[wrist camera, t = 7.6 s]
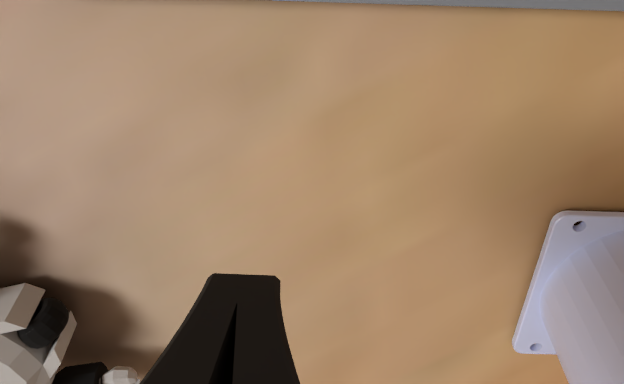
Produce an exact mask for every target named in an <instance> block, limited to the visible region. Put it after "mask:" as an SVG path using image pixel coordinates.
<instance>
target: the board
mask: <svg viewBox="0 0 624 384" xmlns="http://www.w3.org/2000/svg"><path fill="white" fill-rule="evenodd" d="M274 1H307V2H340V3H373V4H405V5H438V6H471V7H504V8H536V9H569V10H602V11H624V0H274Z"/></svg>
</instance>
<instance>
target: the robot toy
mask: <svg viewBox="0 0 624 384" xmlns="http://www.w3.org/2000/svg"><path fill="white" fill-rule="evenodd" d="M44 292H45V289H42V288H39V287H36V286H33V285H30V284H27V283H23V284H18V285H14V286H9V287H5V288H0V384H140V382H141V380H140V379H137V377H138V374H137V372H136V371H135V370H134V369H133V368H132V367H126V366H116V367H114V368H113V369H111V370H109V371H108V369H107V367H106V366H105V365H104V364H103V363H102V362H96V363H89V364H82V365H75V366H69V367H65V368H64V369H62V370H61V371H60V372H58V373H57V374H56V372H57V370H58V367H59V366H60V364H61V362H62V360H63V357H64V355H65V352H66V350H67V347H68V345H69V343H70V340H71V338H72V335H73V333H74V330H75V328H76V325H77V323H76V320H75V318H74V316H73V314H72V312H71V310H70V312H68V310H67V308H66V306H65V305H64V304H63V303H62V302H61V301H59V300H58V299H54V298H44V299H41V298H42V296H43V294H44Z"/></svg>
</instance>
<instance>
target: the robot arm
mask: <svg viewBox="0 0 624 384" xmlns="http://www.w3.org/2000/svg"><path fill="white" fill-rule="evenodd" d="M578 221H582V222H581V223H580V224H578V225H575V226H573V225H574V224H575V223H576V222H578ZM535 343H536V344H535ZM512 345H513V348H514V350H515V351H516V352H518V353H526V354H557V356H558V359H559V361H560V363H561V366H562V368H563V370H564V373H565V375H566V378H567V380H568V382H569V384H624V212H602V211H561V212H559V213H557V214H556V215H554V216H553V218H552V220H551V222H550V225H549V228H548V231H547V234H546V237H545V240H544V244H543V247H542V250H541V253H540V256H539V259H538V262H537V265H536V268H535V271H534V274H533V277H532V281H531V284H530V287H529V290H528V293H527V296H526V299H525V302H524V305H523V308H522V311H521V314H520V318H519V321H518V324H517V327H516V330H515V333H514V336H513V339H512ZM140 384H300V382H299V379H298V375H297V372H296V369H295V366H294V362H293V359H292V355H291V351H290V348H289V344H288V340H287V336H286V332H285V327H284V322H283V317H282V310H281V303H280V280H279V279H278V278H277V277H276V276H268V275H242V274H216V273H214V274H212V275H211V276H210V277H208V279H207V281H206V283H205V285H204V287H203V289H202V291H201V293H200V294H199V296H198V298H197V300H196V302H195V303H194V305H193V307H192V308H191V310H190V312H189V313H188V315H187V317H186V318H185V320H184V321H183V323H182V325H181V326H180V328H179V329H178V331H177V332H176V334H175V335H174V337H173V338H172V340H171V341H170V343H169V344H168V345H167V347H166V348H165V350H164V351H163V353H162V354H161V356H160V357H159V359H158V360H157V361H156V363H155V364H154V365H153V367H152V368H151V369H150V371H149V372H148V373H147V374H146V376H145V377H144V378H143V380H142V381H141V382H140Z"/></svg>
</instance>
